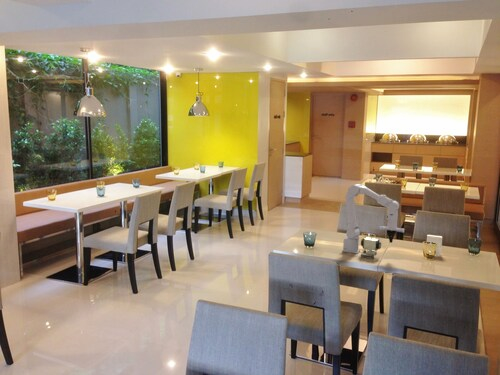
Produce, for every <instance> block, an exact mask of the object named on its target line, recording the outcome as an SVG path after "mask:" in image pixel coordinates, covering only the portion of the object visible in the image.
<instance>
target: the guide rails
mask: <svg viewBox="0 0 500 375" xmlns="http://www.w3.org/2000/svg"><path fill="white" fill-rule="evenodd" d="M366 251H368V249H363V253H364V254H362V253H361V254H360V258H364V259H365V258H366V259H374V258H375V256H371V255H367V254H366ZM373 251H374V252H375V255H377V251H375V250H373Z"/></svg>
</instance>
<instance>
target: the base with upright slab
mask: <svg viewBox="0 0 500 375" xmlns="http://www.w3.org/2000/svg"><path fill="white" fill-rule="evenodd" d="M427 242H433V243H436V244H437V245H438V246H437V249H436V256H435V257H441V256H442V246H443V236H442V235H434V234H427V235H426V243H427Z"/></svg>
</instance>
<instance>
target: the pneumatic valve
mask: <svg viewBox="0 0 500 375" xmlns="http://www.w3.org/2000/svg"><path fill="white" fill-rule="evenodd" d="M360 246H361V247H362V249H363V250H368V251H366V253H365V255H371V256H374V257H375V256H376V254H375V252H377V251H378V250H381V248H382V241H380V239H379V238H378V239H377V238H373V237H364V238H362V239H361V241H360ZM374 251H375V252H374Z"/></svg>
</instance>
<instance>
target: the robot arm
mask: <svg viewBox="0 0 500 375" xmlns="http://www.w3.org/2000/svg"><path fill="white" fill-rule="evenodd" d="M358 195H367V196H368V197H369V198H372V199H374V200H376V202H377V203H378V204H379V205H381V206H383V207H385V208H387V211H388V212H387V221H386V222H387V223H386V224H387V225H386V226H384V225H382V226H381V225H380V226H379V231H386V234H387V236H388V241H389V243H391V244H392V243H393V240H394V239H395V238H394V237H395V236H396V234H397V232H399V233H405V228H402V227H398V217H399V213H398V212H399V209H400V202H398V201H397V200H394V199H392V198H390V197H388V196H387V195H386V194H379V193H376V192H375V191H373V190H372V189H370V188H369V187H368V186H365V185H364V184H361V183H356V184H352V185H351V186H349V187H348V189H347V192H346V194H345V197H344V198H345V204H346V205H345V206H346V207H345V208H346V215H347V216H346V217H347V222H348V224H347V227H346V231H345V233H346V234H345V235H346V236H347V237H343V246H342V252H344V253H352V254H358V253H359V252H360V251H361V250H360V249H359V245H360V244H359V243H360V235H361V229H360V227H359V224H358V222H357V213H356V204H355V203H356V202H355V198H356V197H357V196H358Z"/></svg>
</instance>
